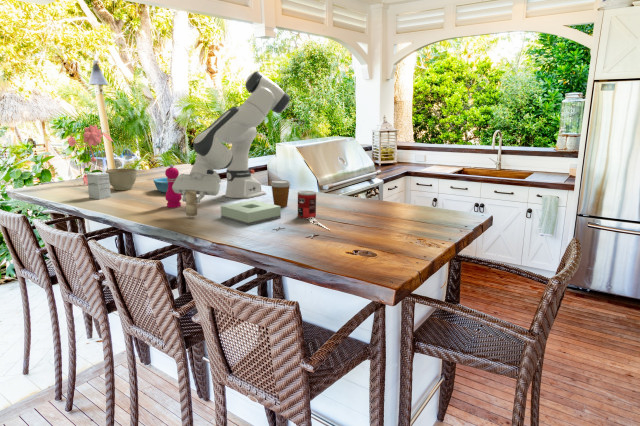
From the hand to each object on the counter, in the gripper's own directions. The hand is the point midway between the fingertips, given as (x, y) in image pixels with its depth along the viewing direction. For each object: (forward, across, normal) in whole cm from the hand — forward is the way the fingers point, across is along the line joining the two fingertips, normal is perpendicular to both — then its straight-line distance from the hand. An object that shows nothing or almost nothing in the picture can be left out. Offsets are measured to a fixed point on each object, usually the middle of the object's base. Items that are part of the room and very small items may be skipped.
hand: (190, 201), depth 180 cm
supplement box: (-13, -65, +24) cm, 70 cm away
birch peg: (+4, 0, +5) cm, 6 cm away
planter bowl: (-30, -69, +42) cm, 86 cm away
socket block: (-1, +24, +10) cm, 26 cm away
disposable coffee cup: (-19, +29, +29) cm, 45 cm away
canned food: (-6, +47, +16) cm, 50 cm away
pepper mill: (-8, -19, +18) cm, 27 cm away
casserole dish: (-37, -35, +48) cm, 70 cm away
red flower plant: (-36, -92, +48) cm, 110 cm away
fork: (+4, +56, +6) cm, 57 cm away
